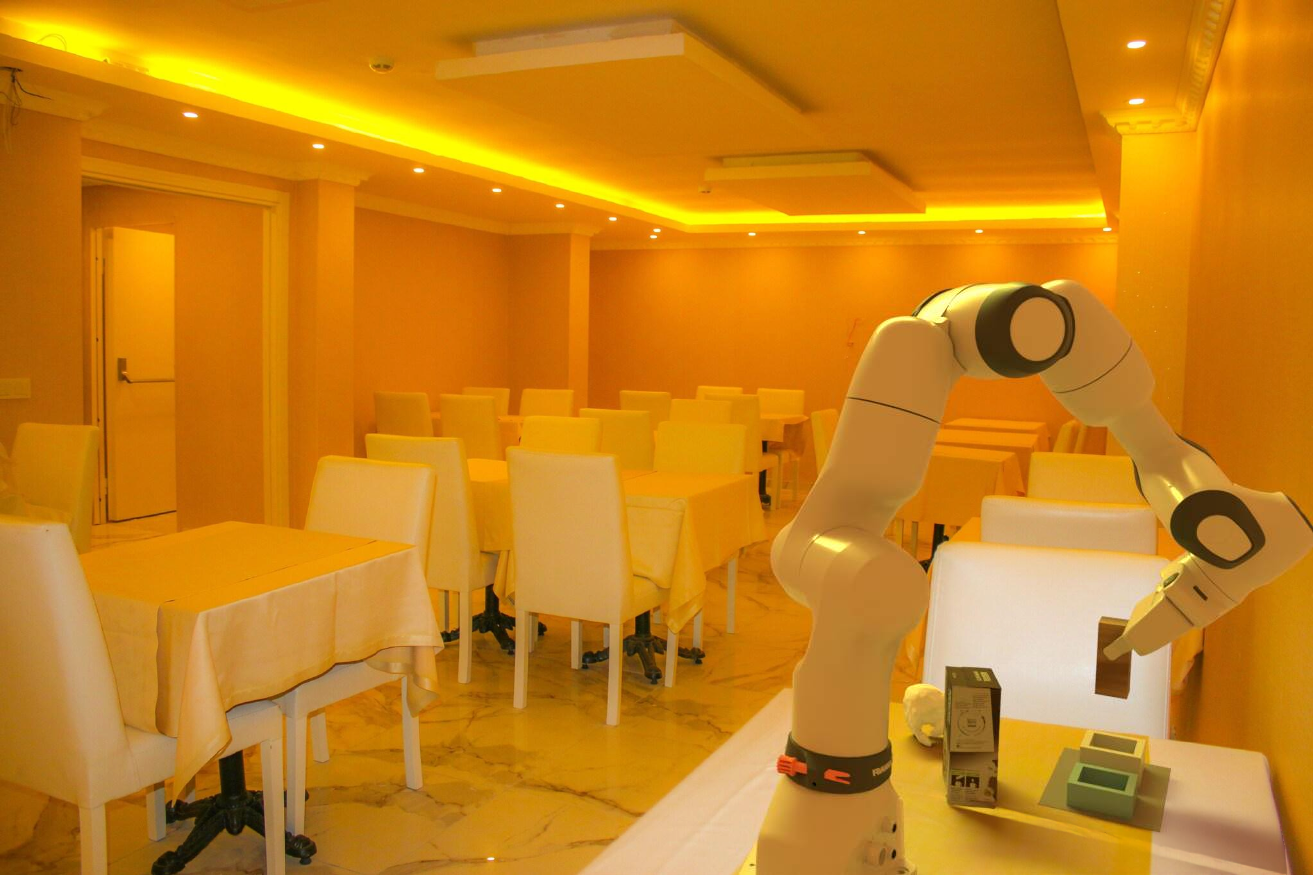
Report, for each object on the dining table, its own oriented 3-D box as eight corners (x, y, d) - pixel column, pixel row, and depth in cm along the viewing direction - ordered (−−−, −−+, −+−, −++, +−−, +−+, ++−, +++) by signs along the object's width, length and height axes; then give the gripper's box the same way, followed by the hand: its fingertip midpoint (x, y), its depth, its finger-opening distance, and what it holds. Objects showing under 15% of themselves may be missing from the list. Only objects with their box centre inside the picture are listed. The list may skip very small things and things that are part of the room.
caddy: (1158, 839, 119) (1160, 799, 119) (1037, 811, 127) (1039, 773, 126) (1170, 775, 138) (1172, 740, 138) (1064, 753, 145) (1065, 721, 145)
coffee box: (998, 809, 127) (1002, 688, 126) (946, 804, 128) (950, 684, 127) (988, 780, 136) (993, 666, 135) (940, 776, 137) (944, 663, 136)
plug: (1126, 699, 132) (1130, 626, 131) (1094, 693, 134) (1098, 622, 133) (1129, 691, 136) (1133, 620, 135) (1098, 685, 138) (1102, 616, 137)
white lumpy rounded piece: (901, 677, 153) (976, 684, 153) (894, 730, 153) (969, 736, 154) (914, 690, 147) (992, 697, 147) (907, 745, 147) (984, 752, 148)
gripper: (1180, 558, 139) (1101, 615, 145) (1172, 585, 121) (1082, 649, 127) (1214, 593, 137) (1133, 650, 143) (1211, 625, 119) (1118, 689, 125)
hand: (1109, 650), depth 135 cm, fingers closed on plug, 4 cm apart
